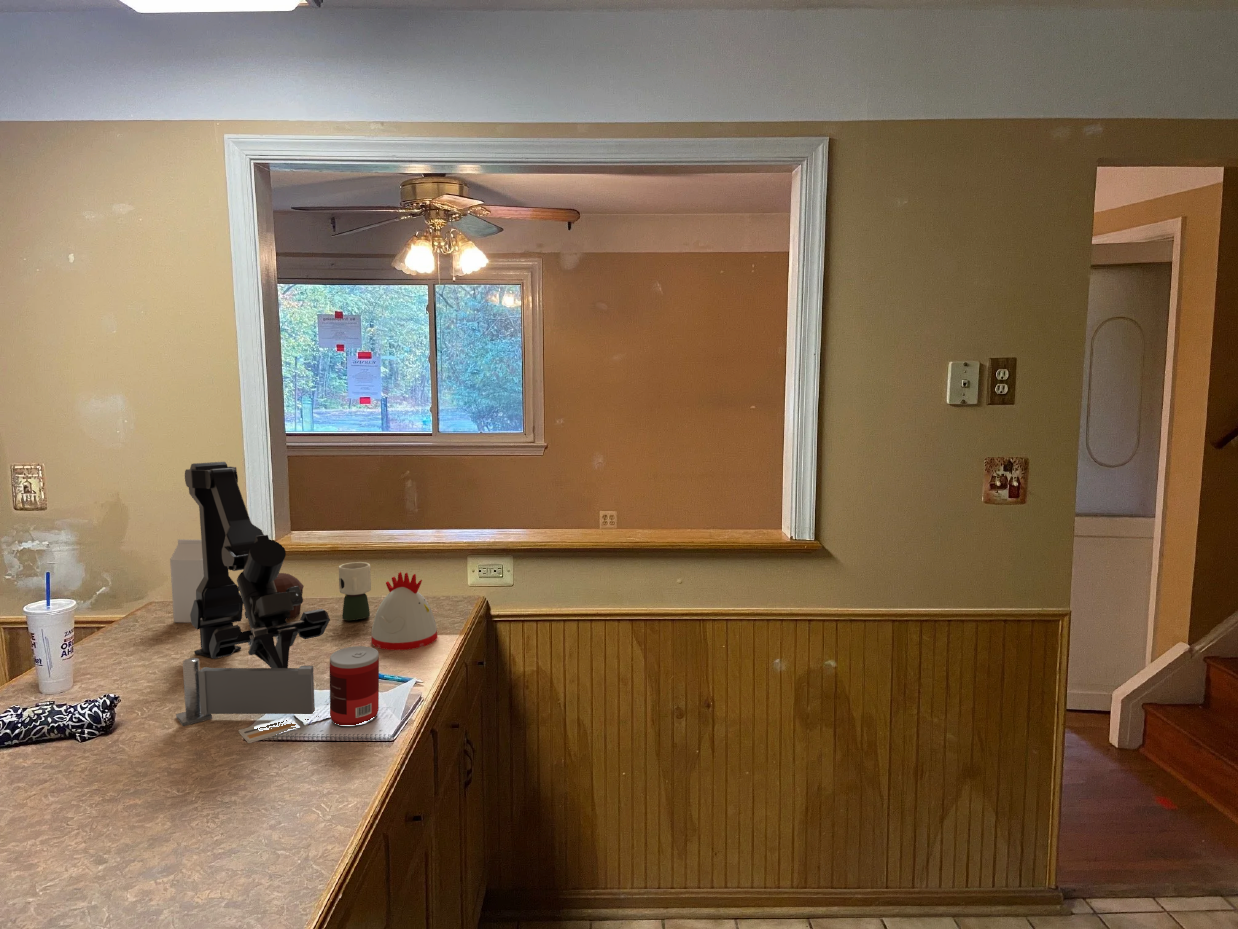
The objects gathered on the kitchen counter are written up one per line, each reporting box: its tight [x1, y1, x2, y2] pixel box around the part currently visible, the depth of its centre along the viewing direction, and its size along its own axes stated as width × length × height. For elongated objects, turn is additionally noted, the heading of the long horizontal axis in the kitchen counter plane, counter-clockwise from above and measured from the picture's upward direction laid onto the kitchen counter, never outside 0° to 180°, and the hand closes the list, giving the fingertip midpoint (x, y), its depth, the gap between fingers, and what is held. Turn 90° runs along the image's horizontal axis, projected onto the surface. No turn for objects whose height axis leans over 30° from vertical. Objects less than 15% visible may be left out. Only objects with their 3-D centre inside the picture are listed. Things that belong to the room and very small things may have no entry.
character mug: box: [338, 561, 372, 622], centre depth 184 cm, size 11×7×13 cm, turn 16°
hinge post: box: [175, 657, 213, 727], centre depth 130 cm, size 4×4×10 cm
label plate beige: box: [238, 720, 296, 744], centre depth 127 cm, size 8×5×1 cm, turn 132°
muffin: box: [274, 572, 305, 621], centre depth 186 cm, size 12×11×10 cm
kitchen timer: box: [370, 571, 438, 651], centre depth 170 cm, size 14×14×15 cm
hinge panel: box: [198, 665, 316, 715], centre depth 131 cm, size 18×2×8 cm, turn 91°
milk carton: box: [169, 538, 204, 623], centre depth 183 cm, size 7×7×19 cm
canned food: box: [329, 645, 380, 726], centre depth 131 cm, size 8×8×11 cm
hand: (284, 676), depth 131 cm, fingers closed
